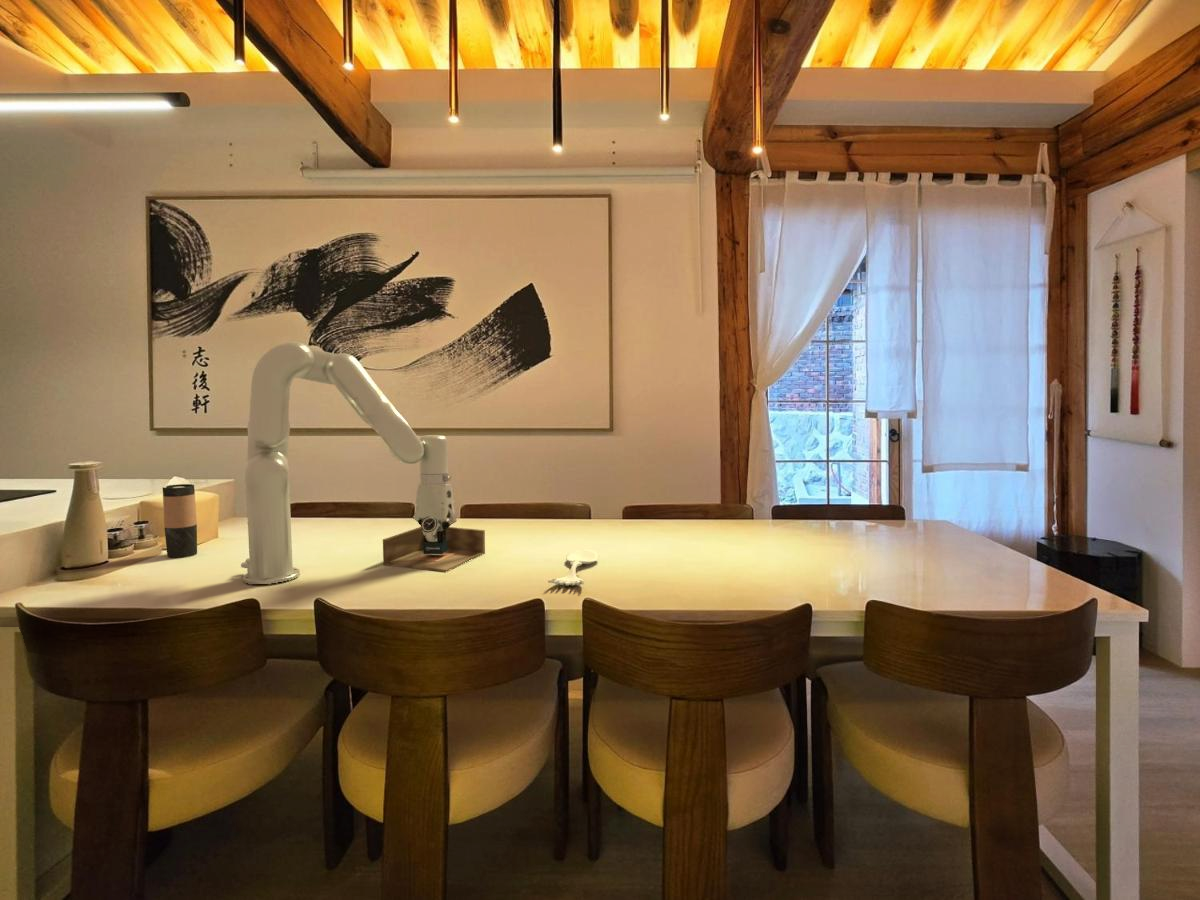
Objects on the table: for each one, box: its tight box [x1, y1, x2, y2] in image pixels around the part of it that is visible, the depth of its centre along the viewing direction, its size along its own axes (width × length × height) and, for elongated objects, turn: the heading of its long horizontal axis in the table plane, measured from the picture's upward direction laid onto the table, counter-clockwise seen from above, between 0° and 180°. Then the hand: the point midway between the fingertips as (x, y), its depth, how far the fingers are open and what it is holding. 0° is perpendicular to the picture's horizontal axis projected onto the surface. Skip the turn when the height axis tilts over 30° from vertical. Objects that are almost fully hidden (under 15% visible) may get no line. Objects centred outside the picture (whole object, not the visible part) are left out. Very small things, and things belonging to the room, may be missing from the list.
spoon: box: [547, 549, 600, 587], centre depth 162 cm, size 9×32×4 cm, turn 173°
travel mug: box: [162, 483, 198, 559], centre depth 177 cm, size 8×8×20 cm
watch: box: [420, 516, 448, 554], centre depth 174 cm, size 6×8×11 cm
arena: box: [382, 526, 486, 572], centre depth 175 cm, size 20×20×7 cm
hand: (434, 543), depth 175 cm, fingers closed on watch, 3 cm apart
